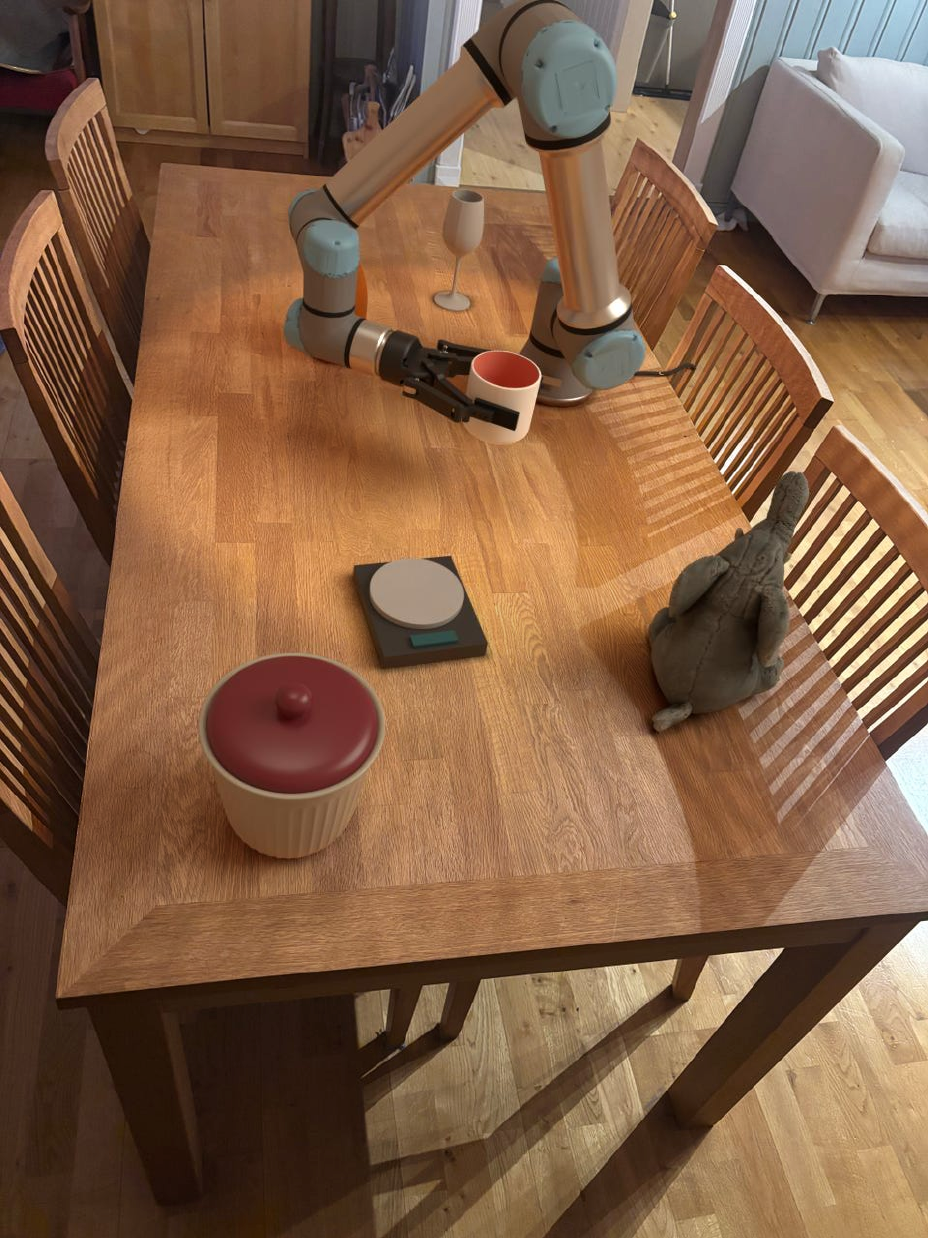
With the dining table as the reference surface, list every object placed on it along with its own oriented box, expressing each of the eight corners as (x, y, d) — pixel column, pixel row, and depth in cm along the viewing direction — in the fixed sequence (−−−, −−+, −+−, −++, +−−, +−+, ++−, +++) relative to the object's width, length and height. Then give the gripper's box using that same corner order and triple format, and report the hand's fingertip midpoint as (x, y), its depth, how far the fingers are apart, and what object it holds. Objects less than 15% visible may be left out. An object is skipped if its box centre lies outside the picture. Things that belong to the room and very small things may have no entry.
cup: (521, 455, 139) (535, 396, 132) (454, 438, 140) (464, 378, 132) (532, 418, 146) (546, 360, 139) (468, 402, 147) (478, 343, 140)
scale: (448, 567, 138) (452, 549, 136) (485, 655, 127) (489, 638, 125) (352, 577, 134) (354, 559, 132) (382, 669, 123) (384, 651, 121)
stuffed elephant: (733, 614, 140) (807, 463, 121) (790, 729, 126) (884, 580, 107) (608, 617, 136) (664, 461, 117) (653, 737, 122) (725, 582, 103)
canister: (405, 813, 109) (428, 694, 94) (285, 921, 98) (289, 806, 83) (294, 720, 116) (299, 595, 101) (170, 811, 105) (154, 686, 90)
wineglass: (475, 298, 195) (493, 194, 180) (463, 315, 190) (480, 208, 175) (440, 288, 196) (455, 183, 181) (427, 303, 191) (441, 197, 176)
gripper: (414, 343, 152) (547, 389, 148) (351, 413, 136) (498, 465, 133) (420, 299, 147) (558, 345, 143) (355, 366, 131) (508, 420, 127)
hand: (529, 403), depth 138 cm, fingers closed on cup, 10 cm apart
